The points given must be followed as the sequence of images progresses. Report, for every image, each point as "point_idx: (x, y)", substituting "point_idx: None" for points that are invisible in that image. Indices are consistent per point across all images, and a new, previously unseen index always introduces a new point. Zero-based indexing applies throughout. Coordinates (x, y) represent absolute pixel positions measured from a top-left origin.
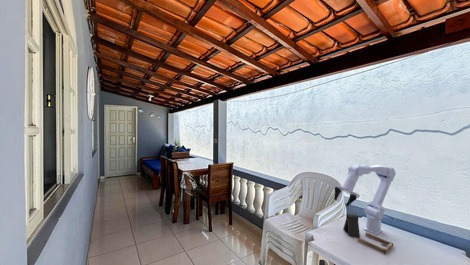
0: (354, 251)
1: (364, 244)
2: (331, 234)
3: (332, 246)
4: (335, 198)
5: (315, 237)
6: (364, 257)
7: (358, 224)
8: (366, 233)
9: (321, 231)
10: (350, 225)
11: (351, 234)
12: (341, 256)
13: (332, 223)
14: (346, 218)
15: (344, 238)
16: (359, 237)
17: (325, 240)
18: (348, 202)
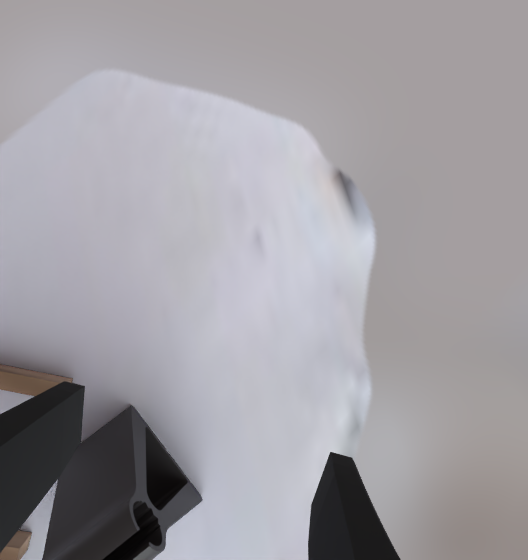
0: (70, 211)
1: (21, 368)
2: (253, 331)
3: (204, 165)
4: (331, 475)
5: (326, 197)
6: (3, 183)
7: (48, 534)
8: (12, 545)
9: (323, 318)
10: (121, 466)
11: (120, 421)
12: (129, 88)
13: (298, 539)
14: (164, 525)
15: (162, 345)
16: None
17: (262, 208)
18: (8, 414)
